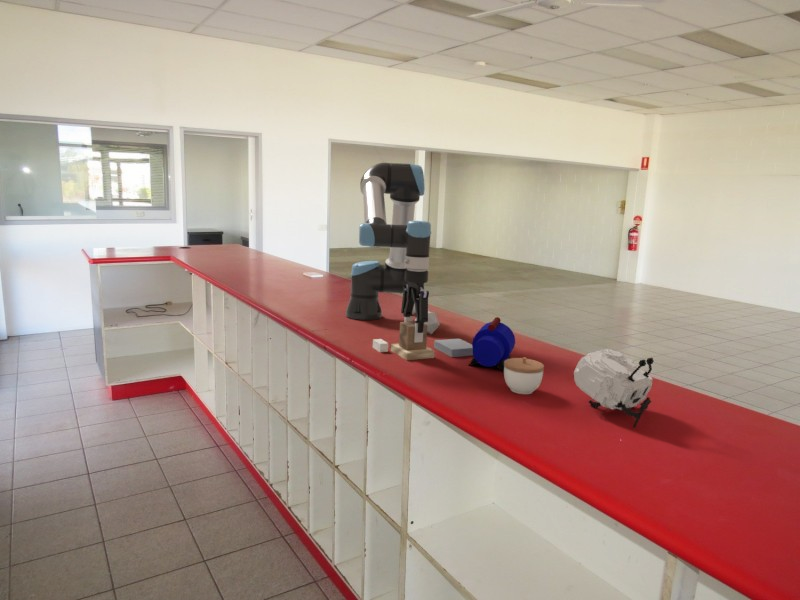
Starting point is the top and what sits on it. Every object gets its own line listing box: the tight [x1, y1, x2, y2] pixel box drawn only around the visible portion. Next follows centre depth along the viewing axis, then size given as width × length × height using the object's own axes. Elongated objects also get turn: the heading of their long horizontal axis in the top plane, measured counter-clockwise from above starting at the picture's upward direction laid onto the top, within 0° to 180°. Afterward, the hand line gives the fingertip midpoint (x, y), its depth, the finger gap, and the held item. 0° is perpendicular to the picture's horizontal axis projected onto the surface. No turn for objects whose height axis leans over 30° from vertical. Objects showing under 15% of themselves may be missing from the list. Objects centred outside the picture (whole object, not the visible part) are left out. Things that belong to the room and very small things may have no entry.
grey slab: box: [433, 338, 473, 358], centre depth 191 cm, size 12×10×3 cm
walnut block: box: [398, 320, 428, 351], centre depth 184 cm, size 6×7×8 cm
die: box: [414, 310, 441, 335], centre depth 215 cm, size 8×9×10 cm
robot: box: [573, 348, 655, 429], centre depth 141 cm, size 17×20×18 cm
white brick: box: [372, 338, 389, 353], centre depth 189 cm, size 6×3×3 cm, turn 26°
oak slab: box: [390, 342, 435, 361], centre depth 185 cm, size 12×10×3 cm
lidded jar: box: [503, 356, 545, 395], centre depth 154 cm, size 11×11×9 cm
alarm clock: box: [467, 316, 516, 372], centre depth 175 cm, size 12×12×15 cm
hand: (412, 338), depth 184 cm, fingers open, 7 cm apart
